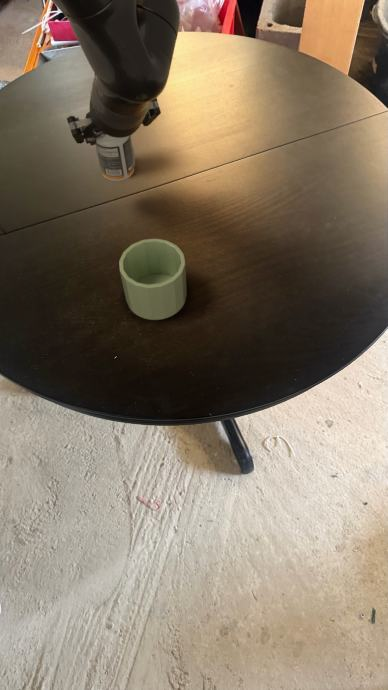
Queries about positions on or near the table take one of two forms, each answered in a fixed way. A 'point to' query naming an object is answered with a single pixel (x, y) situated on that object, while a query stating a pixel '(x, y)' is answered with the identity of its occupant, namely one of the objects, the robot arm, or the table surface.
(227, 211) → the table surface
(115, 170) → the pill bottle
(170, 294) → the green cup
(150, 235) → the table surface
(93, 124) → the robot arm
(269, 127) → the table surface
